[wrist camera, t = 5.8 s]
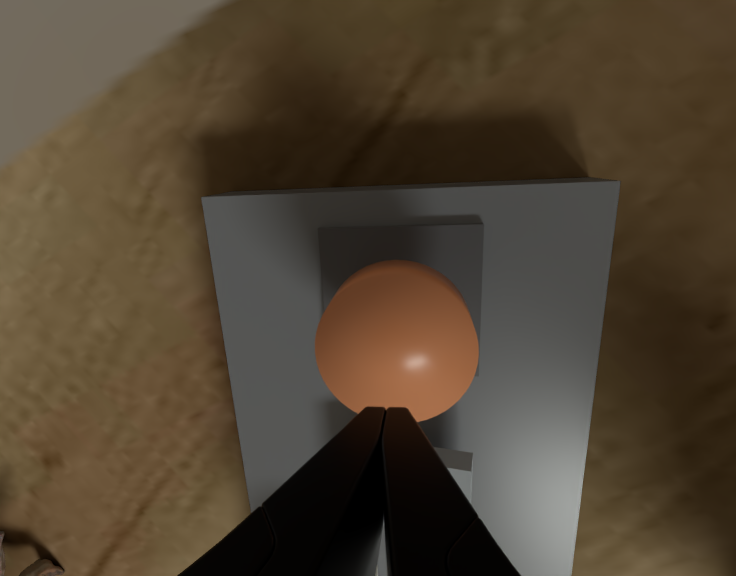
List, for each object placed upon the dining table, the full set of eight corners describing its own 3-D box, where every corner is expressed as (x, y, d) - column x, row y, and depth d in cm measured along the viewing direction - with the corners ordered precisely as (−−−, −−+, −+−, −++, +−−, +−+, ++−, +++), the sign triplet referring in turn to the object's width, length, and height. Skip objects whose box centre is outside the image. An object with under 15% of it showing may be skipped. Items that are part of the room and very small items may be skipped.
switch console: (590, 177, 16) (624, 181, 13) (544, 610, 22) (562, 672, 19) (230, 191, 17) (196, 197, 15) (285, 590, 24) (269, 644, 21)
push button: (469, 251, 13) (481, 273, 10) (466, 379, 14) (476, 426, 12) (328, 253, 13) (308, 275, 11) (337, 377, 15) (321, 421, 12)
